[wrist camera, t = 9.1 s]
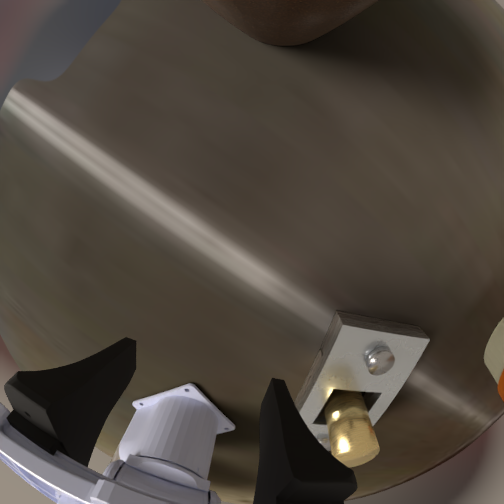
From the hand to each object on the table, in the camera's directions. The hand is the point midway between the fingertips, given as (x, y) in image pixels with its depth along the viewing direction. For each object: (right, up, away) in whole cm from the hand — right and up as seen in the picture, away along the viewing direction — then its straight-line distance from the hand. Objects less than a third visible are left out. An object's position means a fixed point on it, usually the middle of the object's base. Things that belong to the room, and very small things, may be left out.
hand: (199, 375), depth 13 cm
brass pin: (+12, -8, +11) cm, 18 cm away
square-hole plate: (+12, -8, +11) cm, 18 cm away
